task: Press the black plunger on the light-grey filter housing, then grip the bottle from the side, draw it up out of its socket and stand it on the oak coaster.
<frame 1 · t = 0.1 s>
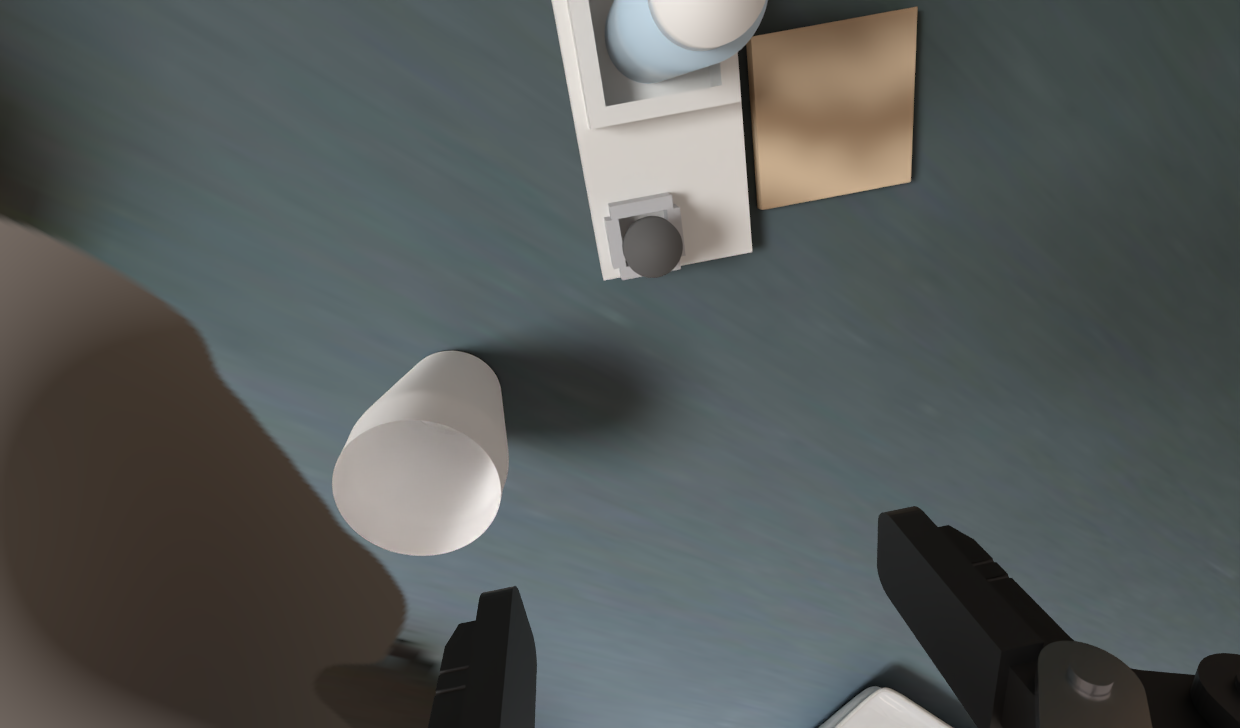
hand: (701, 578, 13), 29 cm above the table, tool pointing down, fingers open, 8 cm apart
plunger: (648, 241, 35), point 4 cm above the table, slide at 0.0 cm
housing: (655, 119, 36), on the table
coaster: (828, 113, 37), on the table
cup: (455, 391, 42), on the table
bottle: (648, 34, 33), point 2 cm above the table, touching housing
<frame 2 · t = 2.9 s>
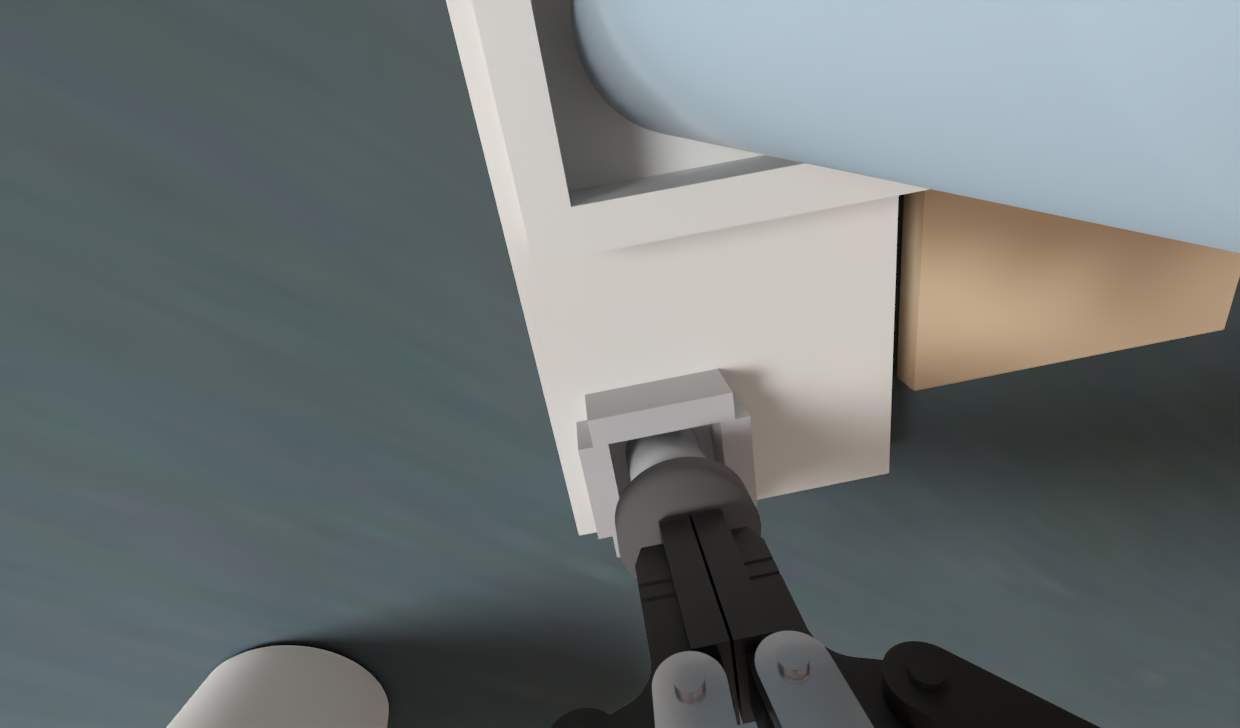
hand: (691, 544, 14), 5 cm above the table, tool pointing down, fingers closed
plunger: (674, 489, 15), point 3 cm above the table, slide at -0.5 cm, touching gripper, housing
housing: (693, 209, 16), on the table
coaster: (1069, 191, 17), on the table
cup: (300, 699, 22), on the table
bottle: (685, 12, 13), point 2 cm above the table, touching housing
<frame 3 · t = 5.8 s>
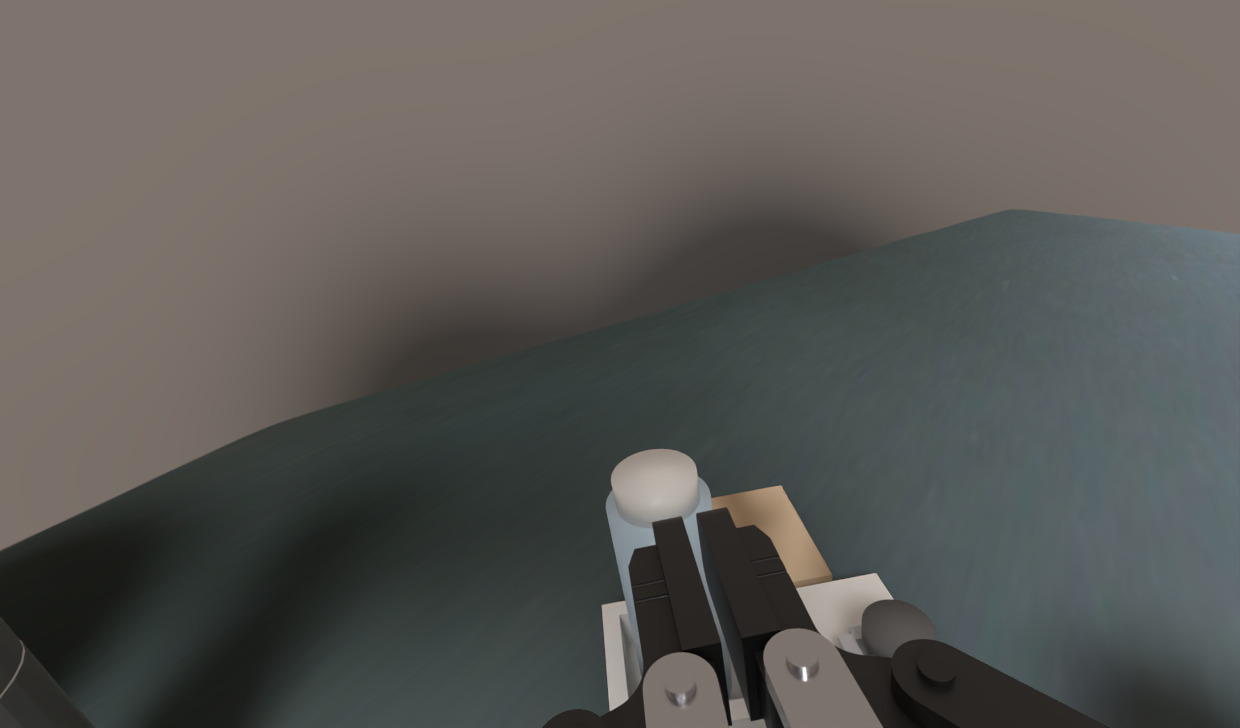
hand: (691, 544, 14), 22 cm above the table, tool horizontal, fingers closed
plunger: (896, 652, 30), point 3 cm above the table, slide at -0.5 cm, touching housing
housing: (766, 684, 33), on the table
coaster: (739, 547, 43), on the table
bottle: (687, 681, 33), point 2 cm above the table, touching housing
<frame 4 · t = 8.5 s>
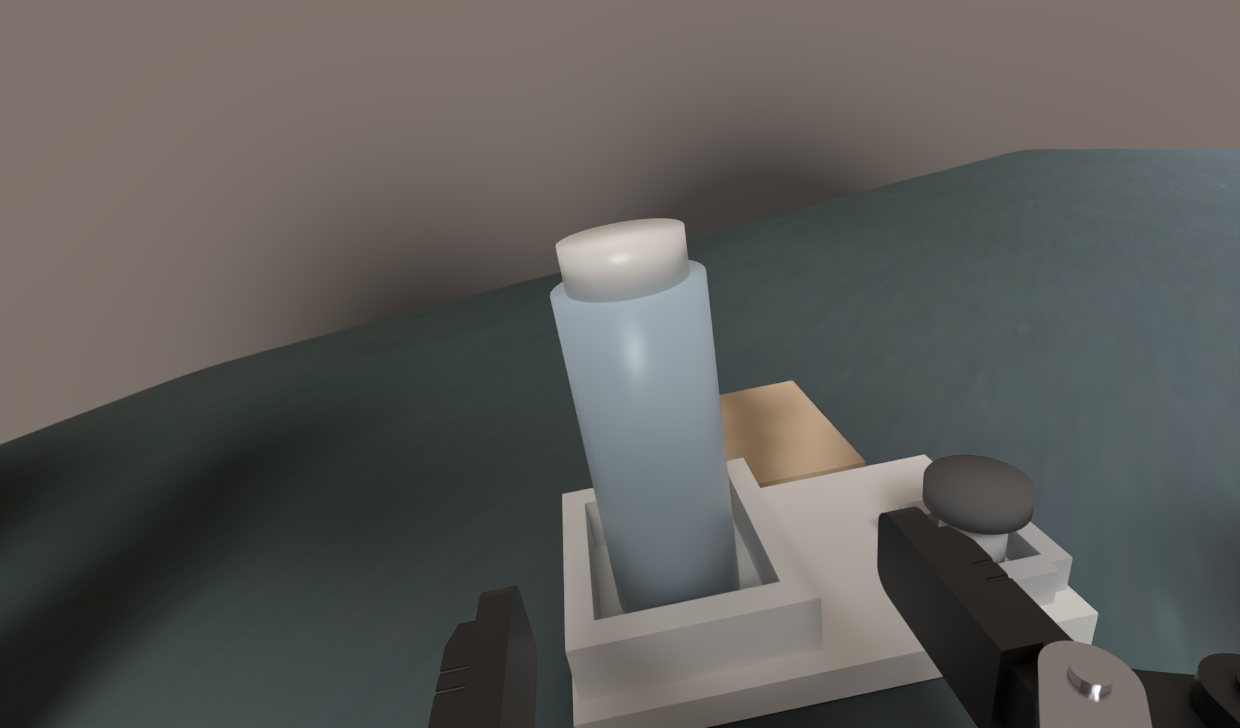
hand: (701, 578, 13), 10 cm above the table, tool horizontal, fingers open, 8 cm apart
plunger: (972, 525, 21), point 3 cm above the table, slide at -0.5 cm, touching housing
housing: (786, 589, 24), on the table
coaster: (743, 446, 34), on the table
bottle: (677, 584, 24), point 2 cm above the table, touching housing
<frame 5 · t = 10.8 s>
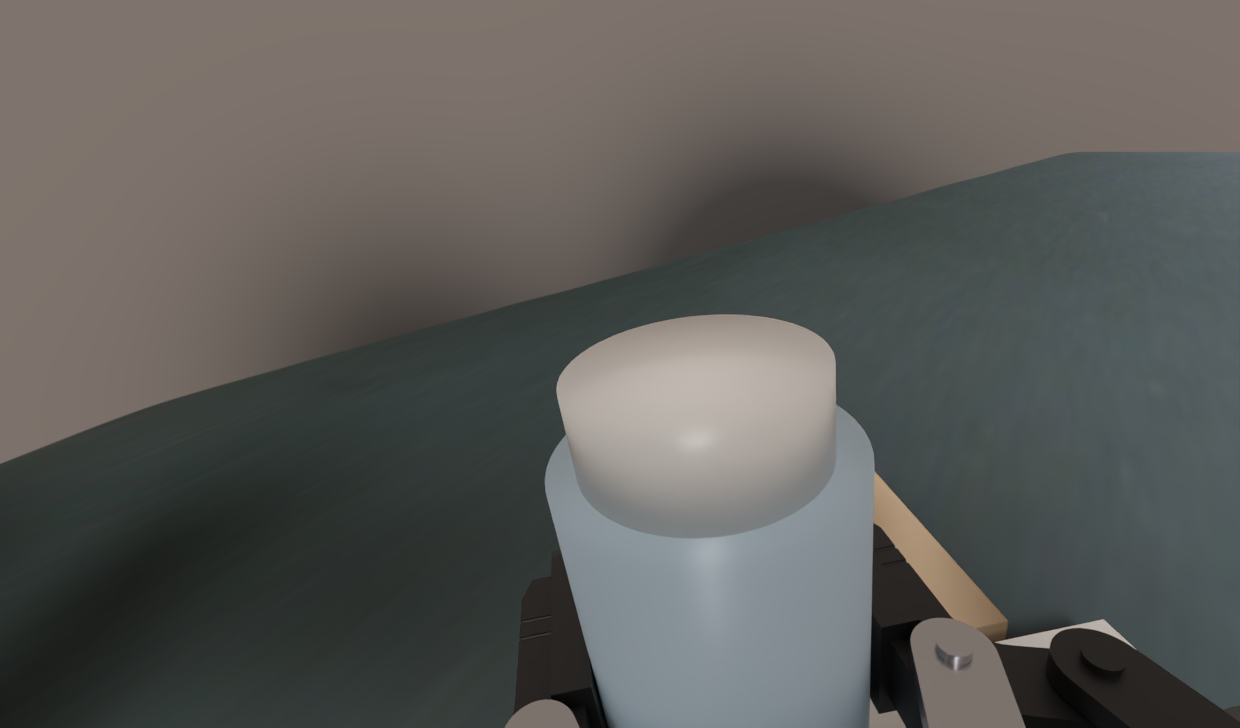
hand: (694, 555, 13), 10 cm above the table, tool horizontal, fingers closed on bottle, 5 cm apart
coaster: (813, 568, 25), on the table
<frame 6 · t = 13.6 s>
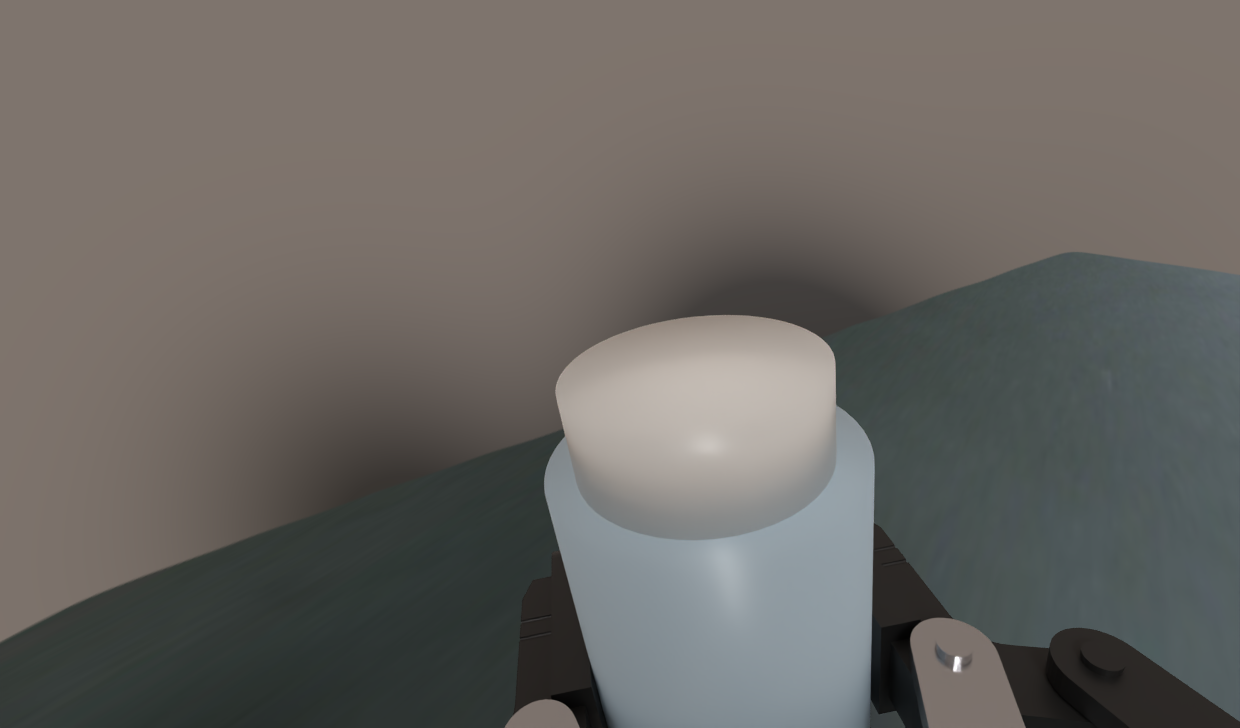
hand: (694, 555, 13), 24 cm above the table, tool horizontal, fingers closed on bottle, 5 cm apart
when the fingers open (11 cm above the table, at t = 16.5 s): bottle drops 1 cm, resting on coaster.
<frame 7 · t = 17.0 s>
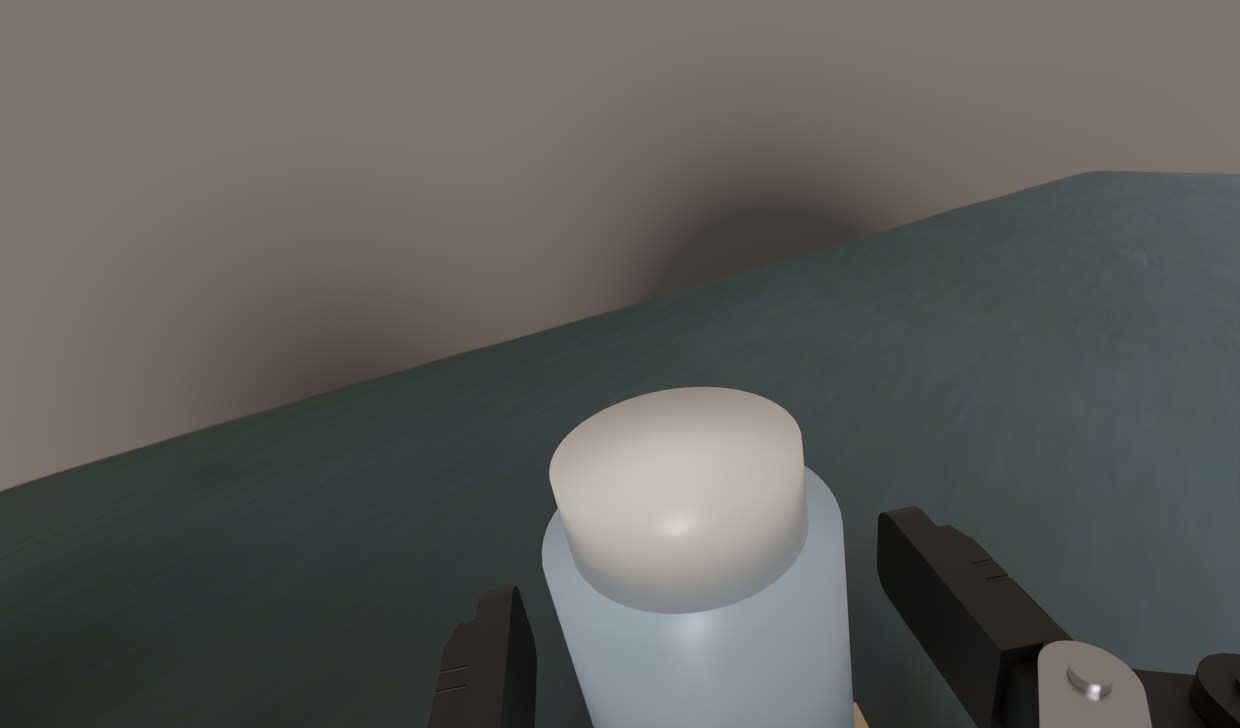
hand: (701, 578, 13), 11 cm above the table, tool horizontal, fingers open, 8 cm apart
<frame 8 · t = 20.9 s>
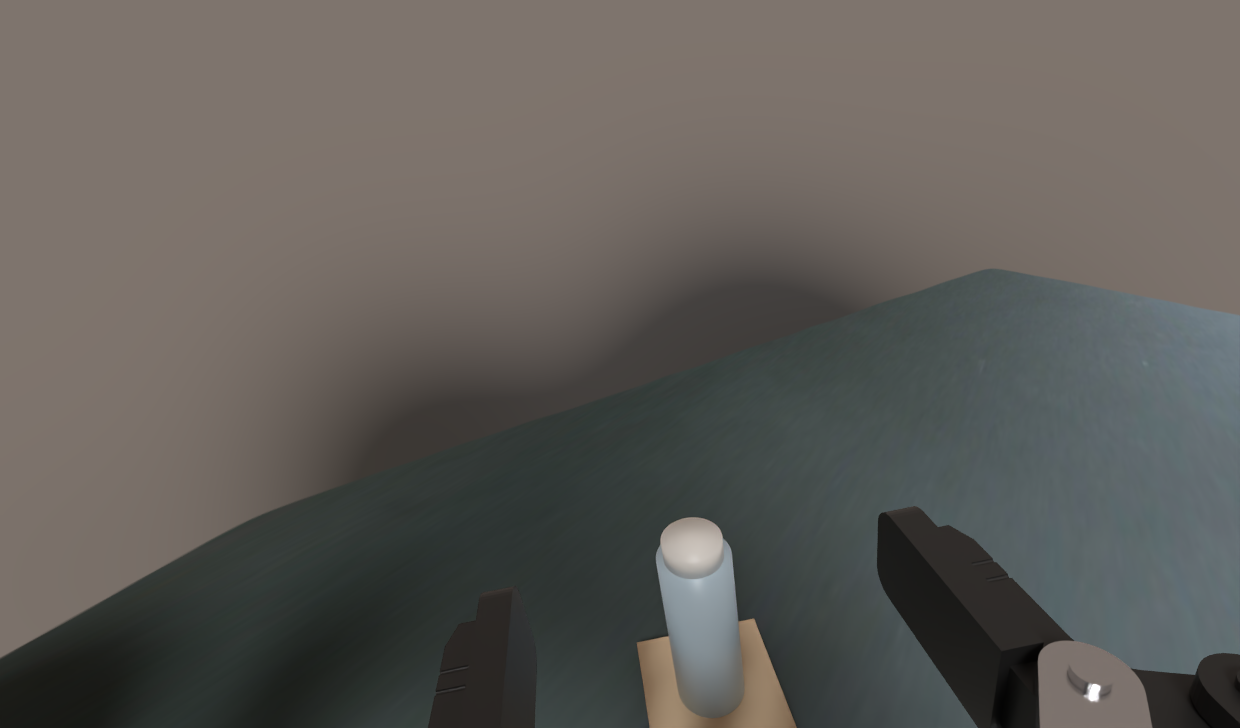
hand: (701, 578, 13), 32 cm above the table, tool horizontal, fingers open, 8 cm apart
coaster: (711, 693, 44), on the table
bottle: (710, 685, 43), point 1 cm above the table, touching coaster
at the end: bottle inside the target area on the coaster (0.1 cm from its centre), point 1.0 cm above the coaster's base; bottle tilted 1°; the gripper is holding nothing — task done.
